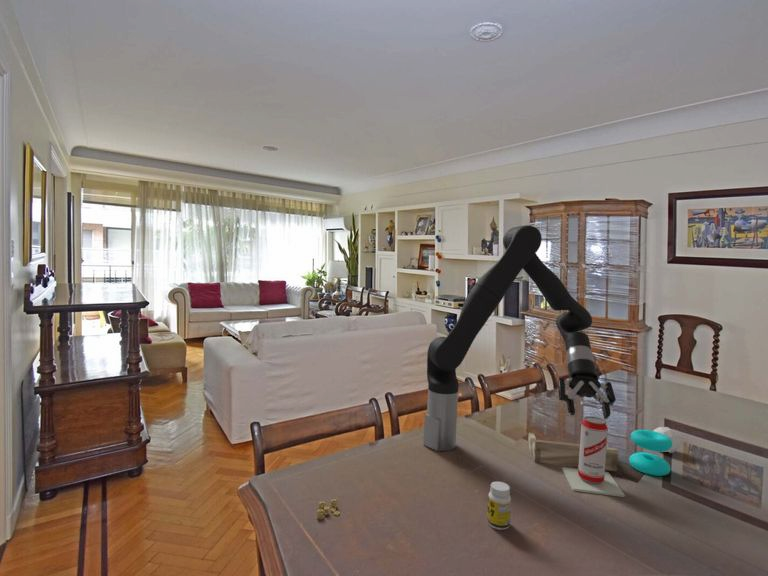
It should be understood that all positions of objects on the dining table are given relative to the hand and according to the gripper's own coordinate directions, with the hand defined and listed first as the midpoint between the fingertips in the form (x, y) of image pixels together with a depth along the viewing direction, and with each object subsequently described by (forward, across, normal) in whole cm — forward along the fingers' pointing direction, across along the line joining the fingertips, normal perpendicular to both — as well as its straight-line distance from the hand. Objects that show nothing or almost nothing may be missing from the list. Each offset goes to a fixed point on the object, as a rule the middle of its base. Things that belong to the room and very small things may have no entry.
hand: (589, 415), depth 117 cm
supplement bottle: (+33, -26, -9) cm, 43 cm away
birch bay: (+4, -2, +19) cm, 20 cm away
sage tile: (+15, 0, +8) cm, 17 cm away
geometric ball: (-5, +29, +28) cm, 41 cm away
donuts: (+6, +19, +18) cm, 27 cm away
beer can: (+14, 0, +8) cm, 16 cm away
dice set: (+36, -62, -12) cm, 73 cm away
